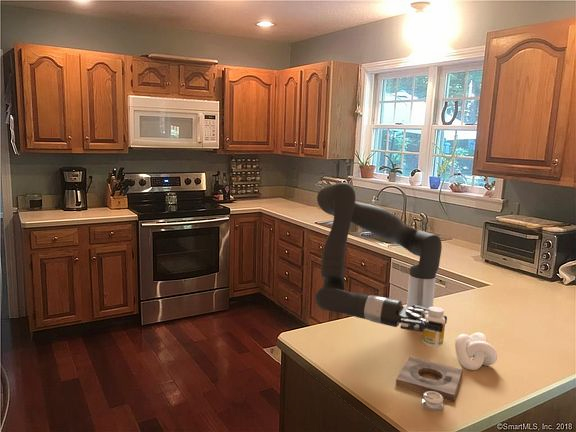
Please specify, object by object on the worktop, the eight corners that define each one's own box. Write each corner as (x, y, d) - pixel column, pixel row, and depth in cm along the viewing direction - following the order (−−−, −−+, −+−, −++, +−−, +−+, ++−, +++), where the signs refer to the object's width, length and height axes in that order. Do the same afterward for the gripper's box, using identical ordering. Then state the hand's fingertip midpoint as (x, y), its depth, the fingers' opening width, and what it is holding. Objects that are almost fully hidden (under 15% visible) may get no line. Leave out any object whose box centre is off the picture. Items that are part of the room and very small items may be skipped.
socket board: (408, 362, 137) (409, 356, 137) (461, 375, 130) (462, 369, 130) (395, 385, 124) (396, 378, 124) (453, 402, 117) (454, 394, 117)
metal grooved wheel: (423, 398, 118) (421, 409, 114) (423, 388, 118) (422, 398, 113) (443, 403, 117) (442, 413, 112) (444, 392, 116) (443, 402, 112)
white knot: (471, 378, 129) (475, 348, 128) (441, 358, 140) (444, 331, 139) (500, 371, 134) (504, 342, 132) (469, 353, 145) (472, 326, 143)
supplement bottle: (438, 338, 128) (442, 305, 126) (445, 347, 123) (449, 313, 121) (419, 337, 128) (423, 305, 126) (426, 346, 122) (429, 312, 121)
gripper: (376, 305, 124) (441, 319, 116) (391, 290, 136) (450, 302, 128) (374, 331, 125) (438, 347, 117) (389, 314, 137) (447, 327, 130)
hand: (444, 324), depth 123 cm, fingers closed on supplement bottle, 5 cm apart
